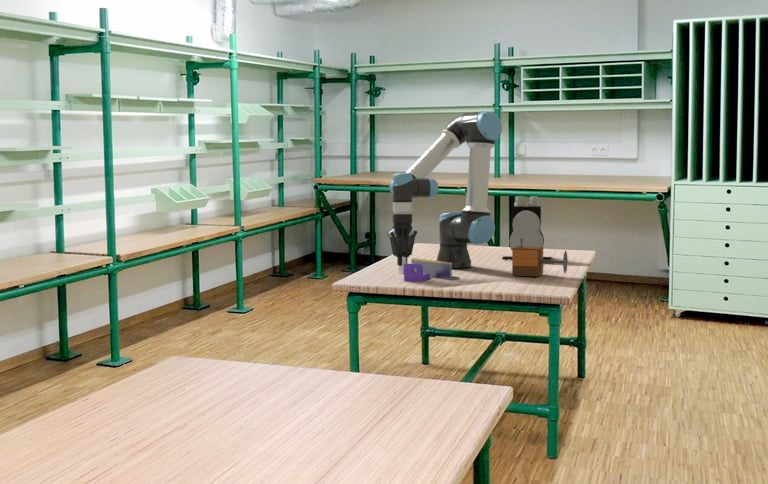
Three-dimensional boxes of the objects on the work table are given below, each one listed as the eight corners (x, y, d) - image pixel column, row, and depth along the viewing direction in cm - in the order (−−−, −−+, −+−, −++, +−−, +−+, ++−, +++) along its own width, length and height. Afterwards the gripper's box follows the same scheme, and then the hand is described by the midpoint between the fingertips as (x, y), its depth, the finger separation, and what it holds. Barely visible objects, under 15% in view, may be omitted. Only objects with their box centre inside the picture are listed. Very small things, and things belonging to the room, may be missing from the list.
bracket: (421, 282, 324) (421, 264, 324) (404, 282, 326) (403, 264, 326) (429, 278, 336) (429, 261, 335) (412, 278, 338) (412, 260, 337)
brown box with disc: (562, 277, 334) (562, 240, 333) (512, 275, 342) (512, 239, 340) (567, 274, 344) (568, 238, 342) (518, 272, 351) (518, 237, 350)
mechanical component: (552, 259, 399) (553, 195, 396) (550, 264, 378) (551, 196, 376) (505, 259, 404) (505, 195, 401) (501, 264, 383) (501, 196, 381)
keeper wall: (421, 273, 350) (421, 257, 350) (459, 278, 331) (459, 261, 330) (411, 274, 348) (411, 258, 347) (449, 279, 328) (449, 262, 328)
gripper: (410, 212, 339) (409, 272, 340) (383, 213, 331) (383, 274, 333) (421, 213, 333) (421, 273, 334) (394, 214, 325) (394, 276, 327)
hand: (402, 273), depth 333 cm, fingers closed
